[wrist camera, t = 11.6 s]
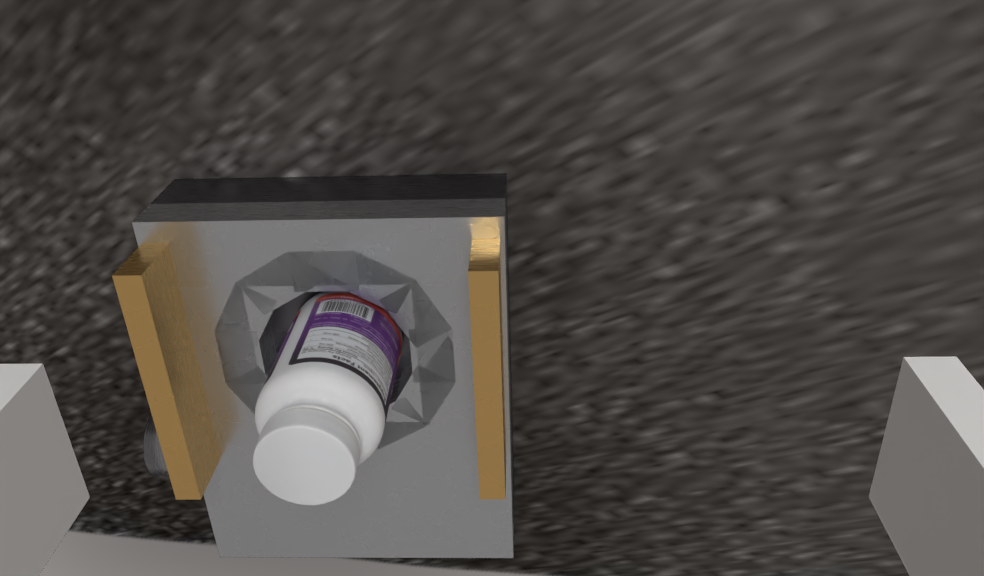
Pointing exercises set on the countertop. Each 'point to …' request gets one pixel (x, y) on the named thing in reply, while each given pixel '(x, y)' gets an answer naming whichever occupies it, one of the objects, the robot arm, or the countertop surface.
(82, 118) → the countertop surface
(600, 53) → the countertop surface
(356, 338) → the pill bottle
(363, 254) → the grey clamp fixture
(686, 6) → the countertop surface
